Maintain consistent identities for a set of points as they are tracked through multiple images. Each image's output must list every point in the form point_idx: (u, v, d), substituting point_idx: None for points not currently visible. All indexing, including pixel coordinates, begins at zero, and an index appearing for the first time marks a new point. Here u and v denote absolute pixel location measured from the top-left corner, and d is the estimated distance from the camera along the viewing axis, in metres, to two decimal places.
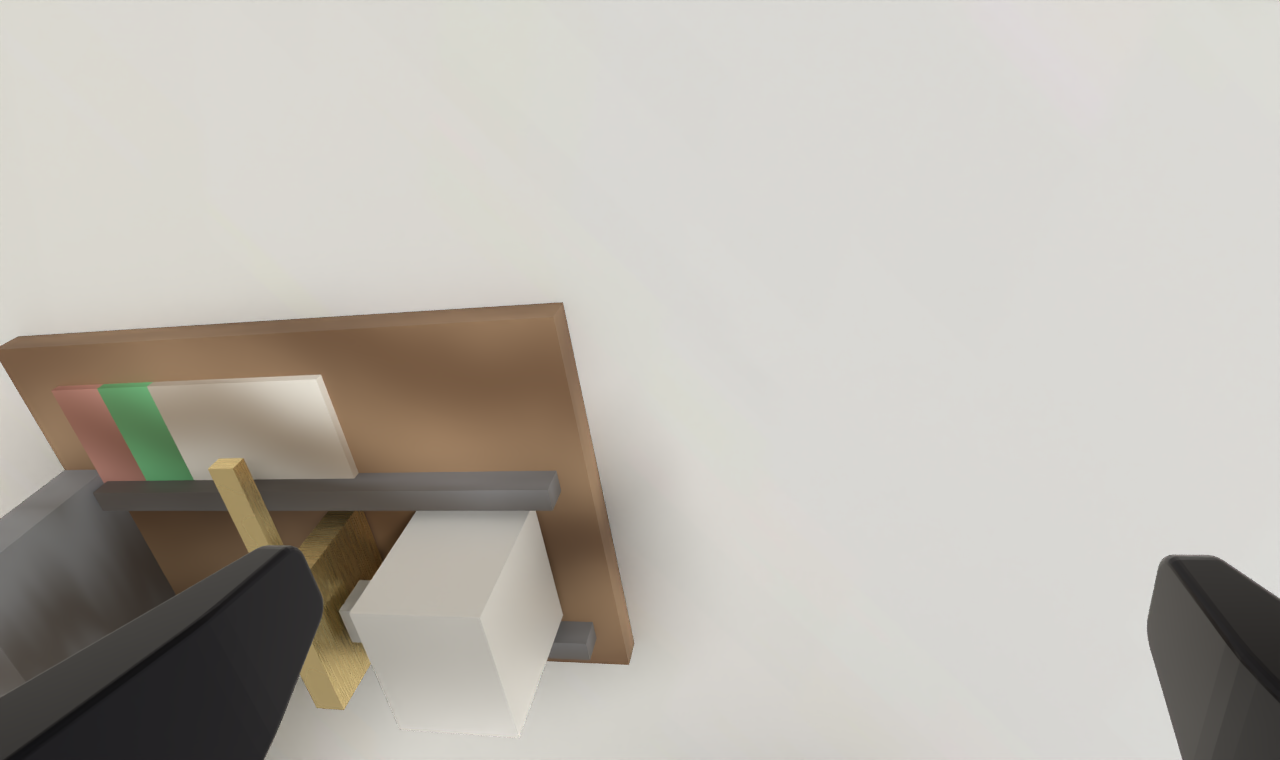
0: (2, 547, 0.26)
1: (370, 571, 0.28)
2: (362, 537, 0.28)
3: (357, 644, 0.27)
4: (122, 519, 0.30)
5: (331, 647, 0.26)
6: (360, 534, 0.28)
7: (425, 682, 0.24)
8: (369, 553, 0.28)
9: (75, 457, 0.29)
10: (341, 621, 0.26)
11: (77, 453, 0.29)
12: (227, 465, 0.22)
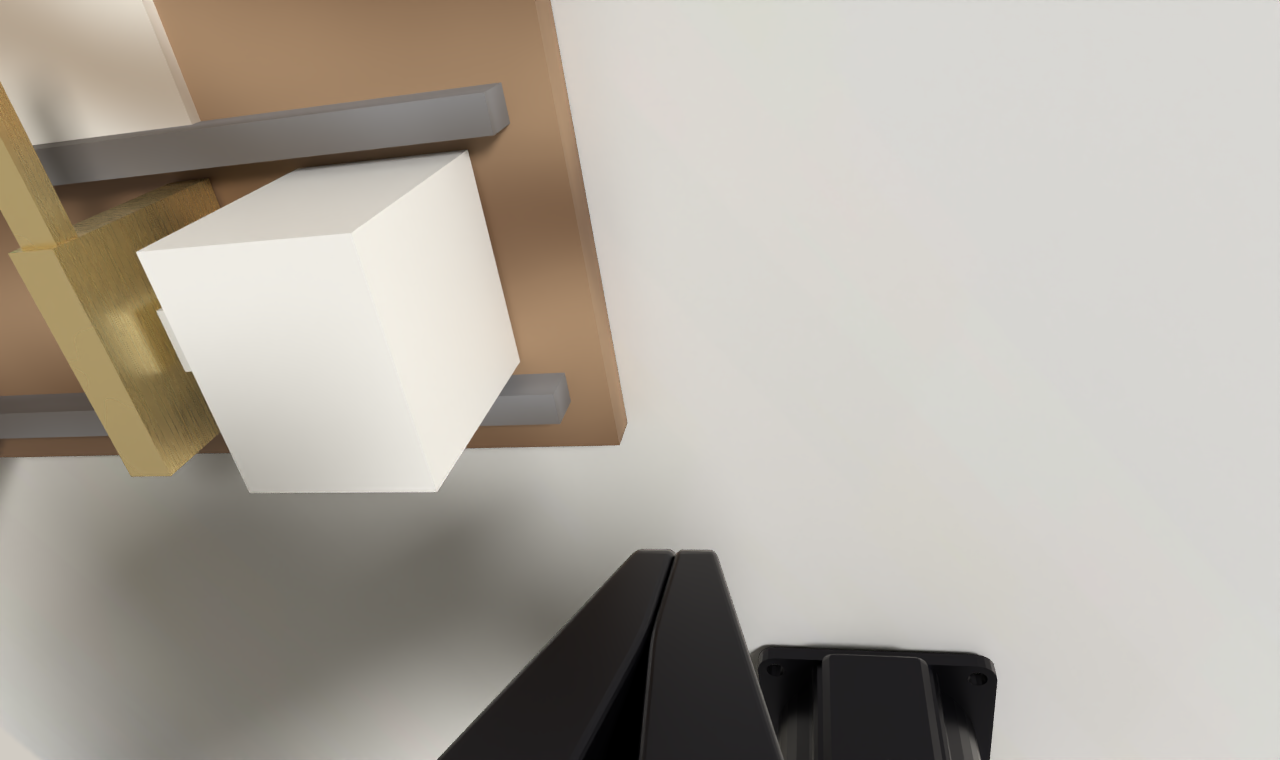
0: None
1: None
2: None
3: None
4: None
5: (145, 369, 0.16)
6: None
7: (276, 389, 0.14)
8: None
9: None
10: (167, 338, 0.17)
11: None
12: None
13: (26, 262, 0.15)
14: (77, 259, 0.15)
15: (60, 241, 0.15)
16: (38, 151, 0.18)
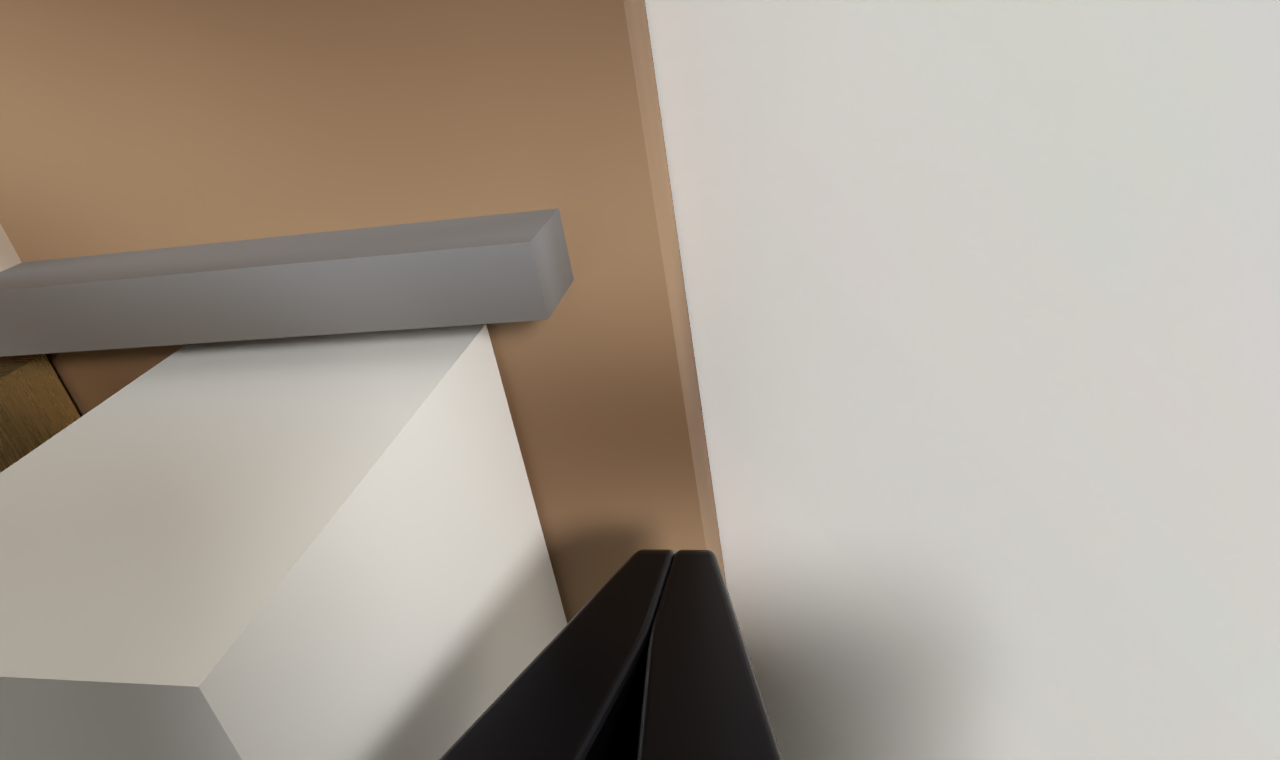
0: None
1: None
2: None
3: None
4: None
5: None
6: (44, 434, 0.10)
7: None
8: None
9: None
10: None
11: None
12: None
13: None
14: None
15: None
16: None
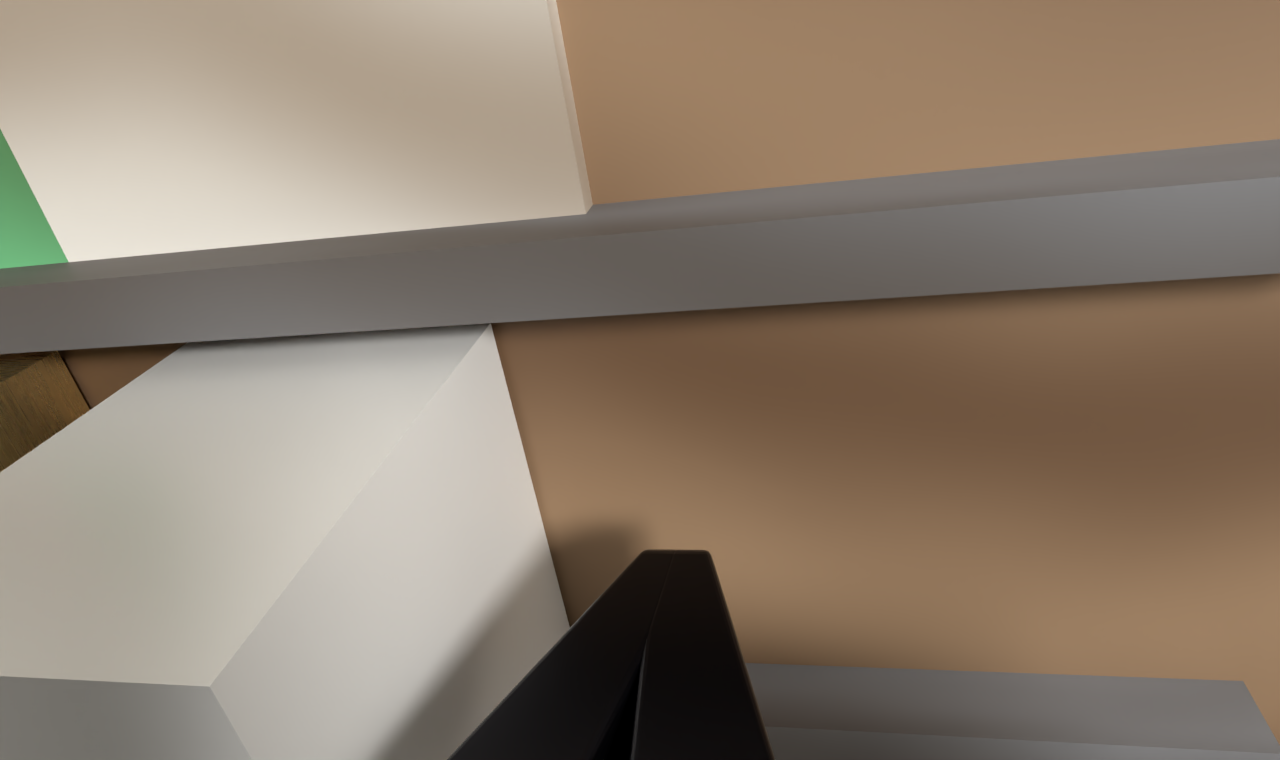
0: None
1: None
2: None
3: None
4: None
5: None
6: None
7: None
8: None
9: None
10: None
11: None
12: None
13: None
14: None
15: None
16: (247, 270, 0.08)
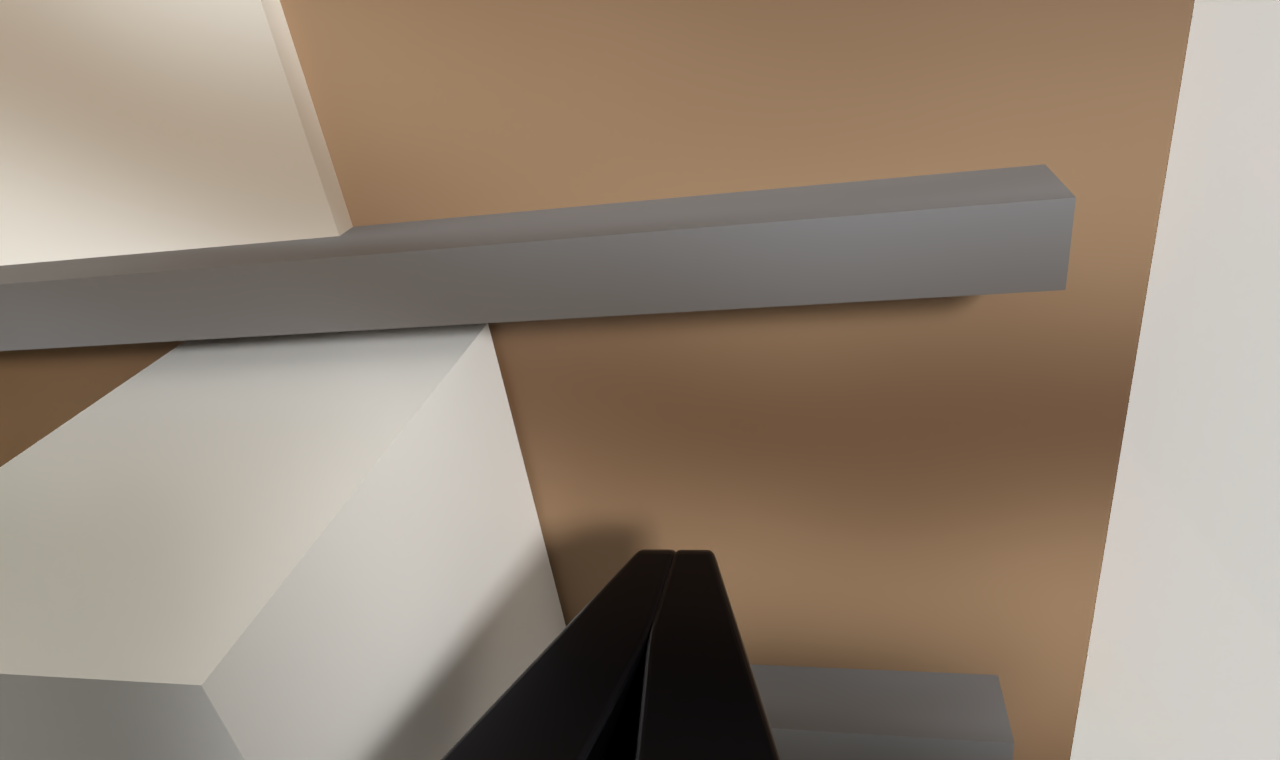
0: None
1: None
2: None
3: None
4: None
5: None
6: None
7: None
8: None
9: None
10: None
11: None
12: None
13: None
14: None
15: None
16: (31, 286, 0.09)
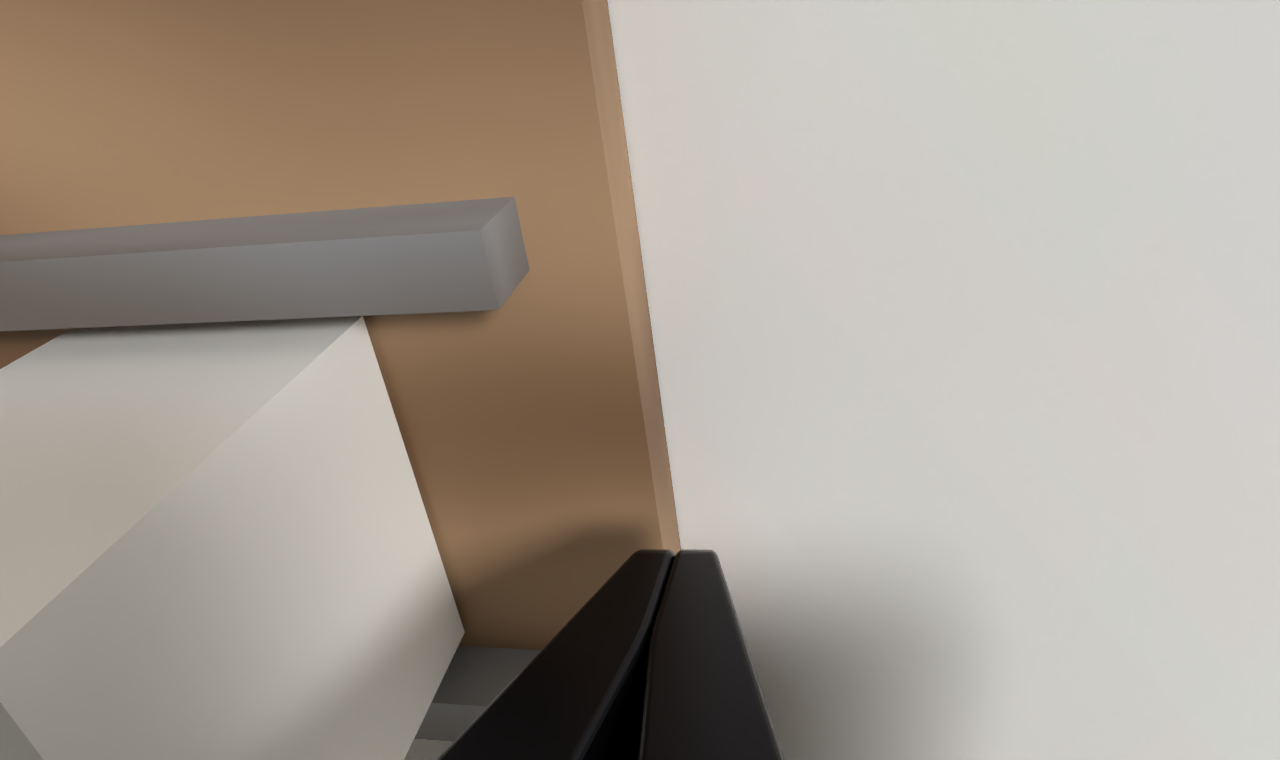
0: None
1: None
2: None
3: None
4: None
5: None
6: None
7: None
8: None
9: None
10: None
11: None
12: None
13: None
14: None
15: None
16: None
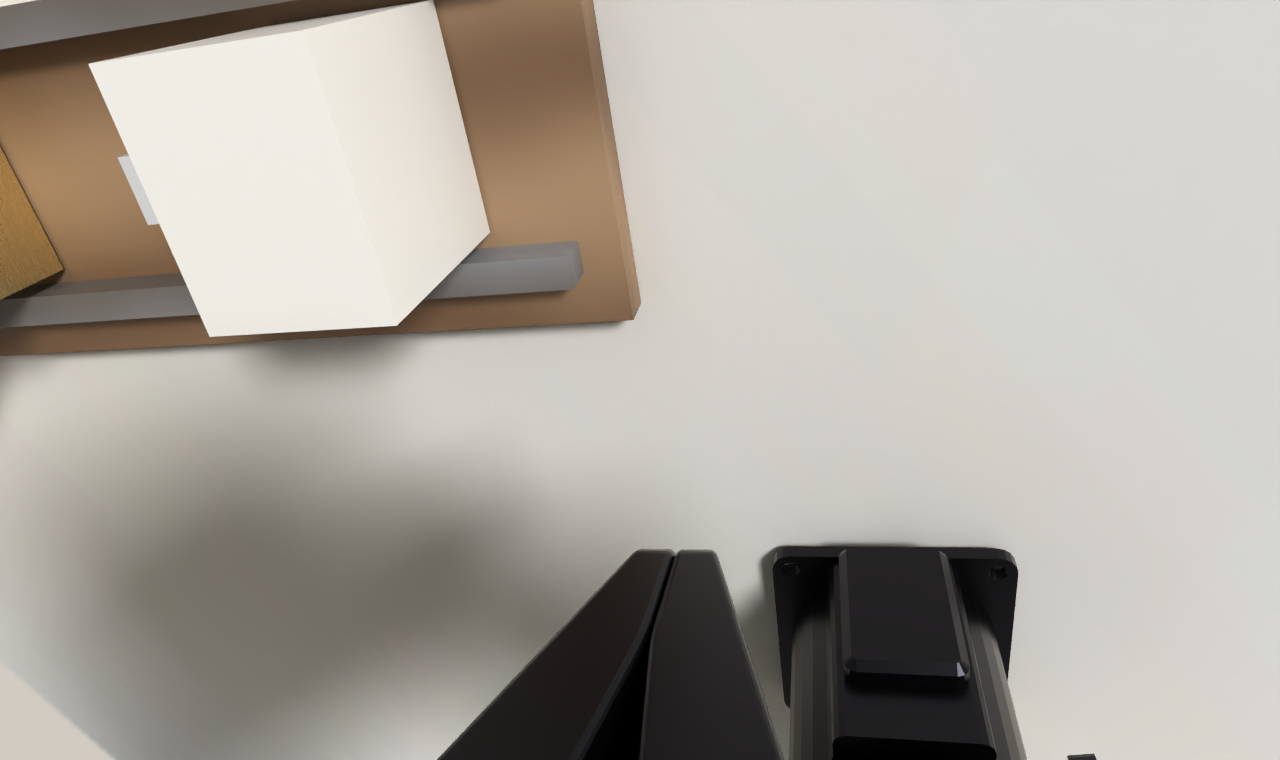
0: None
1: None
2: None
3: None
4: None
5: None
6: None
7: (233, 216, 0.14)
8: None
9: None
10: None
11: None
12: None
13: None
14: None
15: None
16: (41, 2, 0.17)
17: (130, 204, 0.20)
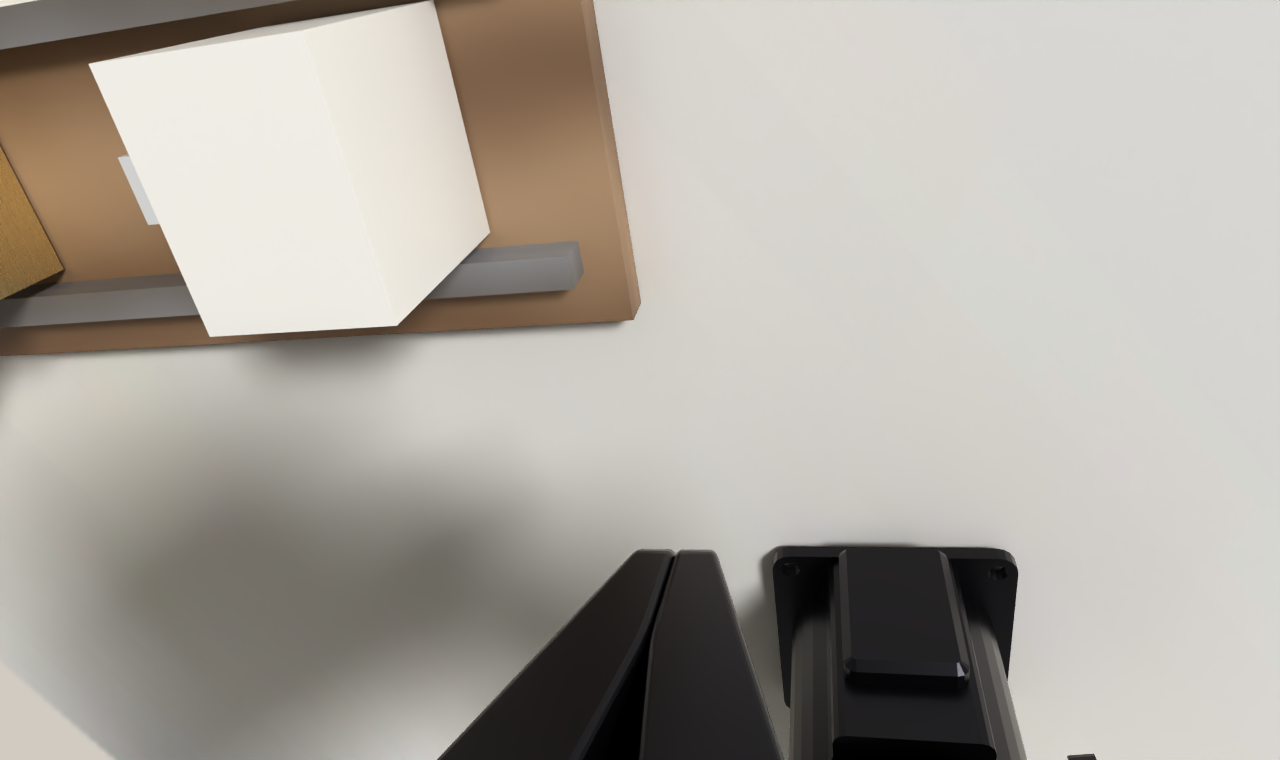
0: None
1: None
2: None
3: None
4: None
5: None
6: None
7: (233, 216, 0.14)
8: None
9: None
10: None
11: None
12: None
13: None
14: None
15: None
16: (42, 2, 0.17)
17: (130, 204, 0.20)
